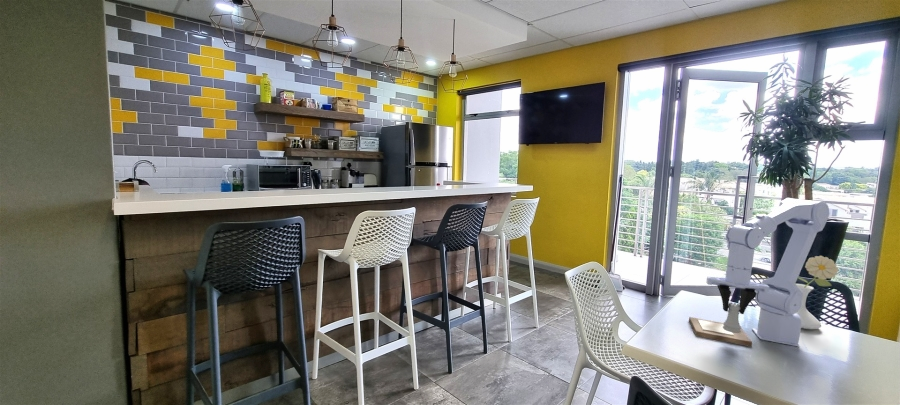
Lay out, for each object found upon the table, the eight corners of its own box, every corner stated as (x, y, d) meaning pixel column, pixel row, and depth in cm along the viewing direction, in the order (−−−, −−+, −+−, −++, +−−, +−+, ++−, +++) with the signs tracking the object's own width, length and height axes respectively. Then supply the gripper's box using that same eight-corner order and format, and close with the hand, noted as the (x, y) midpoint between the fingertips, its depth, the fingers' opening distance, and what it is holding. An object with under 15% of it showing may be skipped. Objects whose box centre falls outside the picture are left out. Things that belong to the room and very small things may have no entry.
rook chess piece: (744, 334, 107) (747, 307, 107) (727, 332, 108) (729, 304, 108) (735, 329, 112) (738, 302, 111) (719, 326, 113) (721, 300, 112)
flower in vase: (772, 323, 128) (783, 252, 125) (777, 315, 135) (788, 248, 132) (826, 338, 118) (839, 261, 115) (828, 328, 126) (841, 256, 123)
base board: (739, 330, 121) (740, 325, 121) (751, 346, 110) (752, 341, 110) (688, 321, 126) (689, 316, 126) (695, 335, 116) (696, 330, 115)
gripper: (713, 266, 108) (707, 311, 109) (776, 274, 102) (768, 321, 104) (707, 260, 114) (701, 303, 116) (766, 267, 108) (759, 312, 110)
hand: (733, 311), depth 110 cm, fingers closed on rook chess piece, 3 cm apart
